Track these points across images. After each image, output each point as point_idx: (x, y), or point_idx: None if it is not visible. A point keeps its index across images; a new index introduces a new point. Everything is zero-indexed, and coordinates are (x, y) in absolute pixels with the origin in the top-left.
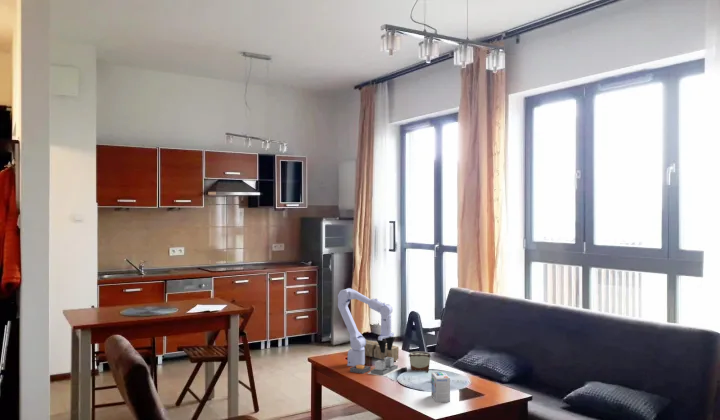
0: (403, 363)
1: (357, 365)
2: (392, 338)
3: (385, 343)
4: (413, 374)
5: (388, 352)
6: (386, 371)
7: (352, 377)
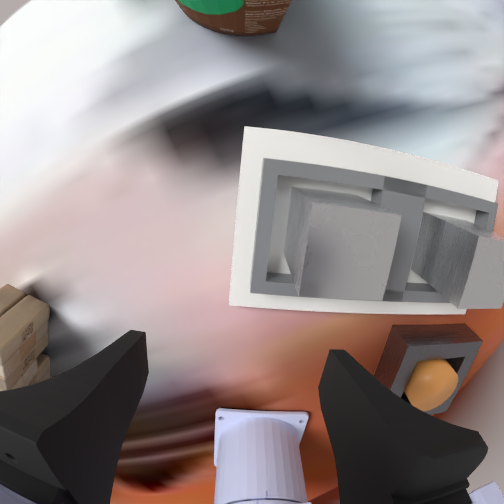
0: (47, 206)
1: (438, 401)
2: (55, 451)
3: (427, 427)
4: (336, 4)
5: (20, 361)
6: (461, 193)
7: (491, 346)
